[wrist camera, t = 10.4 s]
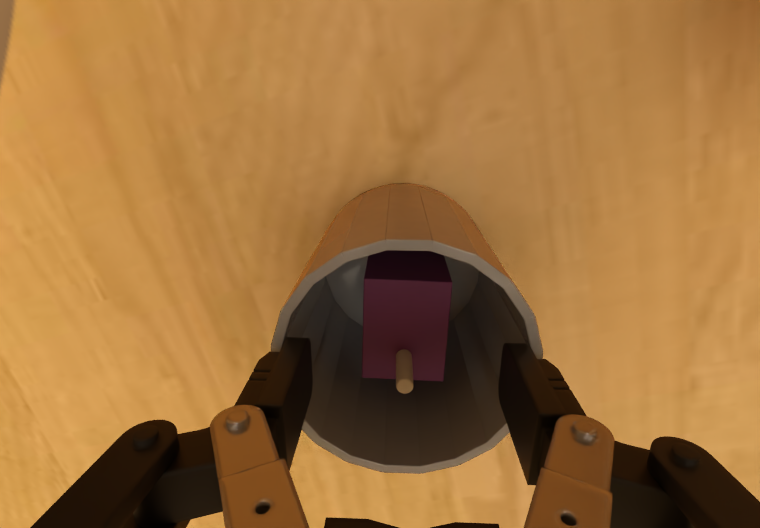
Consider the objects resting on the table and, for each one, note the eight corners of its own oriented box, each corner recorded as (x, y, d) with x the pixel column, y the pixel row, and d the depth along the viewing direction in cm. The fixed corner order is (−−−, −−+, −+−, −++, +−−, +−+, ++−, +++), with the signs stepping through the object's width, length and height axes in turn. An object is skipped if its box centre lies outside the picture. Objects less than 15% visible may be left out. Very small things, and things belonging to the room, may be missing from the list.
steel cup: (318, 182, 22) (260, 237, 13) (490, 184, 22) (560, 242, 13) (324, 334, 25) (281, 469, 16) (476, 338, 25) (524, 477, 16)
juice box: (373, 227, 22) (359, 301, 14) (436, 230, 22) (460, 305, 14) (371, 303, 24) (357, 411, 15) (430, 305, 24) (449, 416, 15)
